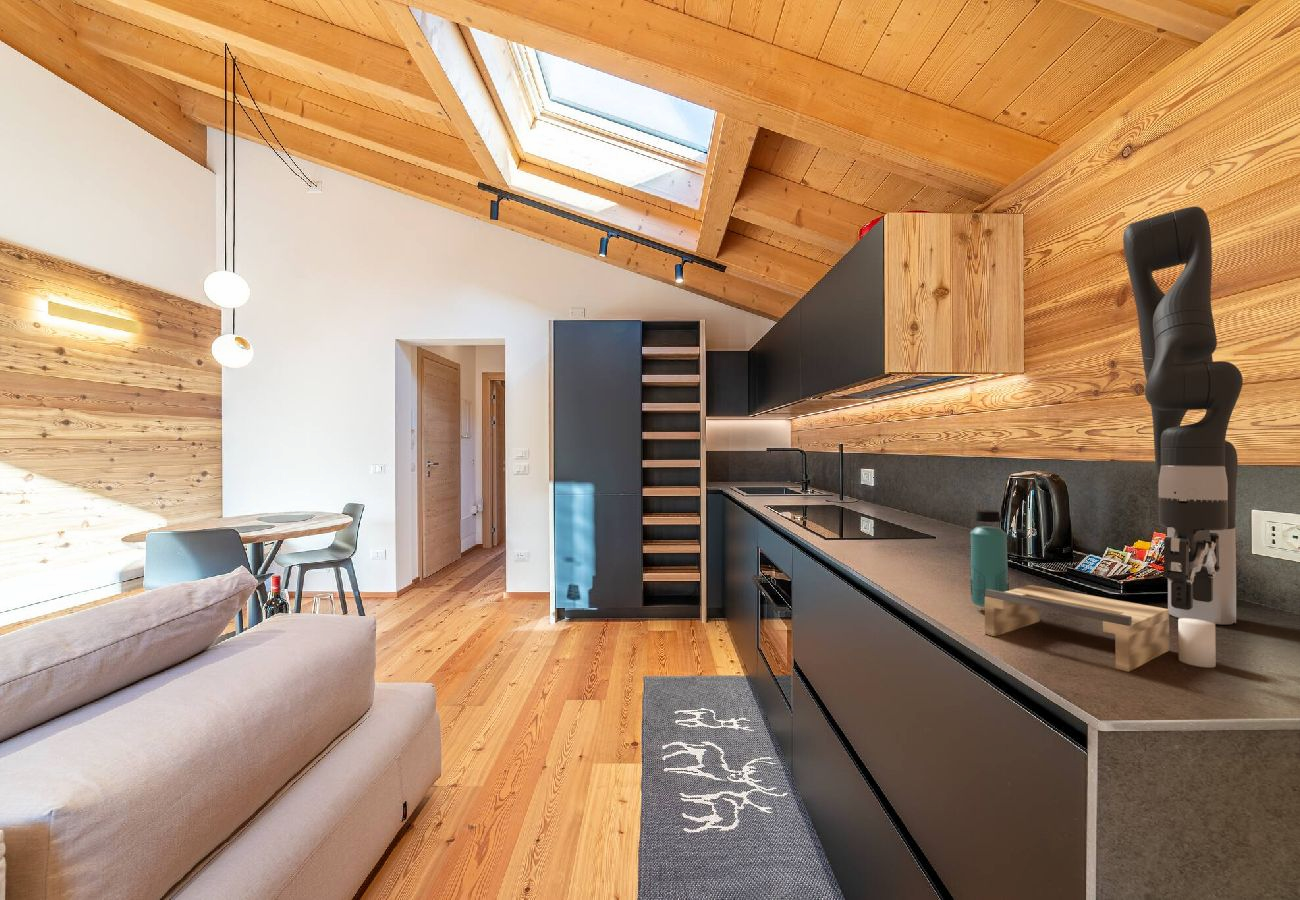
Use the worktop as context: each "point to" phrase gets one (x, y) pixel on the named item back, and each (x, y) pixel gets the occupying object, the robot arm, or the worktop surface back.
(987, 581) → the beverage bottle
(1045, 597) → the shelf
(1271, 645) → the worktop surface
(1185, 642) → the white cylinder
